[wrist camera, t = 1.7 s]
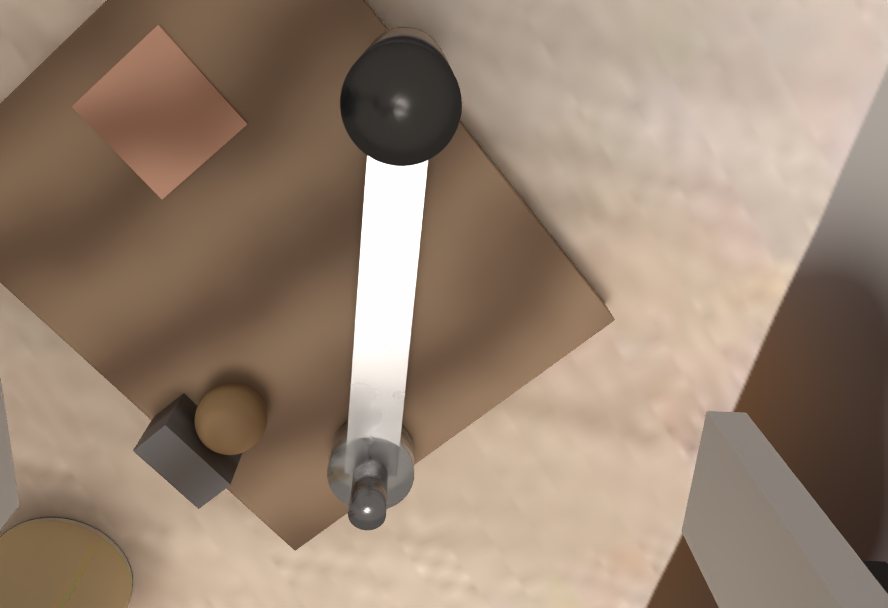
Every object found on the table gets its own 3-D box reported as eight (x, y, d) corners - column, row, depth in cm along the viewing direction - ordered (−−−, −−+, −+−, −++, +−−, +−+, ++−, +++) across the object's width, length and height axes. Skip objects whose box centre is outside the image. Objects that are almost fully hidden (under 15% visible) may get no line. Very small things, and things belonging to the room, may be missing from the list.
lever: (410, 489, 39) (408, 685, 28) (329, 484, 39) (294, 679, 28) (459, 31, 32) (483, 50, 21) (358, 20, 31) (328, 33, 20)
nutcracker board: (-68, 185, 35) (-144, 215, 31) (260, -132, 31) (232, -155, 27) (300, 526, 43) (285, 594, 38) (605, 304, 39) (632, 348, 34)
